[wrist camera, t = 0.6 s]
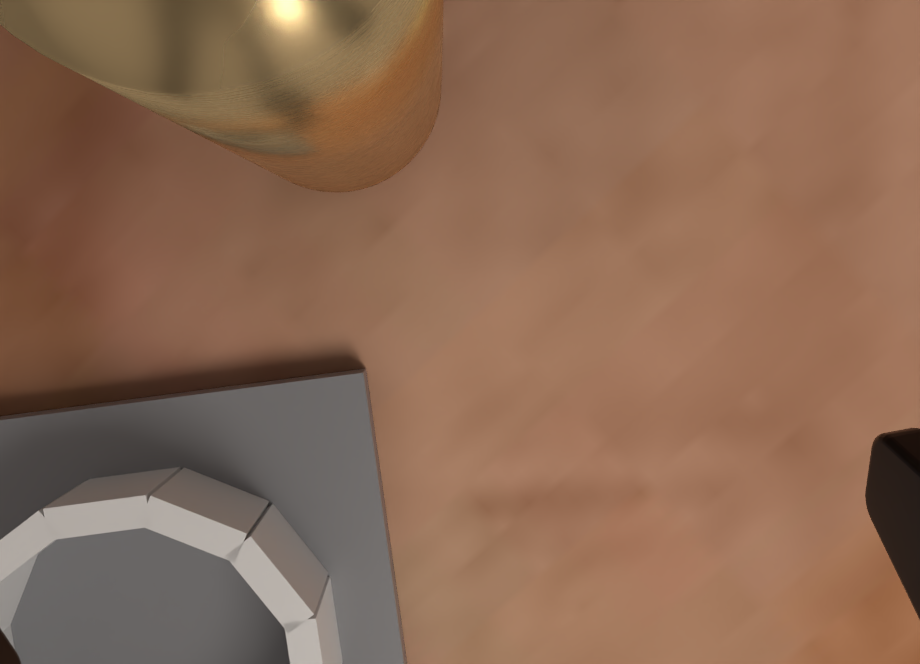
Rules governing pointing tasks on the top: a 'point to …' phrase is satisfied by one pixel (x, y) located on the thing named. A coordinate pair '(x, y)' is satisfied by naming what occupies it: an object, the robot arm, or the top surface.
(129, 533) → the fitting board
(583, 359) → the top surface
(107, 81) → the gold cylinder peg
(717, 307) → the top surface
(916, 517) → the robot arm
